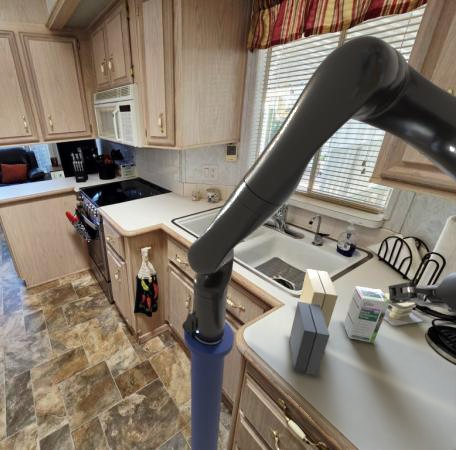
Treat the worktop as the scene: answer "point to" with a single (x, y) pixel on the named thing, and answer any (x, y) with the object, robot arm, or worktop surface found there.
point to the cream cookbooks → (319, 292)
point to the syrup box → (365, 313)
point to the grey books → (308, 338)
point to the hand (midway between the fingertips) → (420, 301)
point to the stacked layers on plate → (400, 313)
